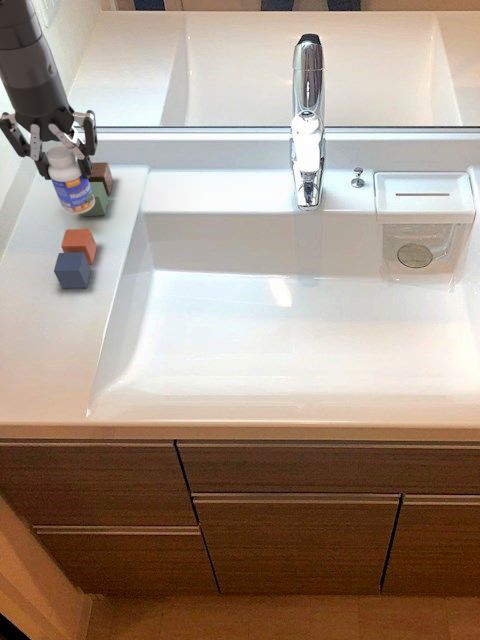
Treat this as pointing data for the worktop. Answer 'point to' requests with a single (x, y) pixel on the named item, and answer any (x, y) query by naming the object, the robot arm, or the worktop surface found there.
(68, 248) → the block
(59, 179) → the pill bottle
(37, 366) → the worktop surface
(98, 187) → the block
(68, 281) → the block
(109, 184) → the block
